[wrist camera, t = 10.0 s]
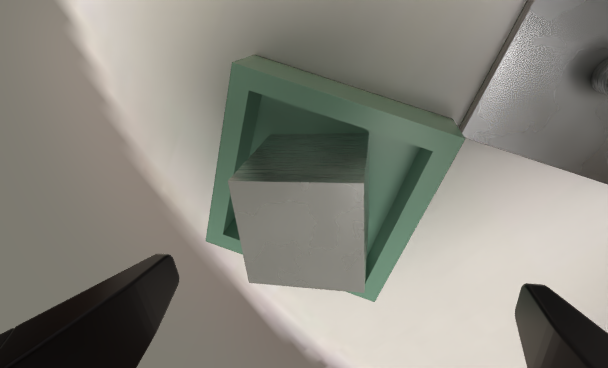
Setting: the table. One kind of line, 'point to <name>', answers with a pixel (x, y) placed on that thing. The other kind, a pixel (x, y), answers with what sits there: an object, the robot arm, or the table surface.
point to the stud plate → (549, 89)
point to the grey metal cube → (305, 210)
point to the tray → (336, 119)
